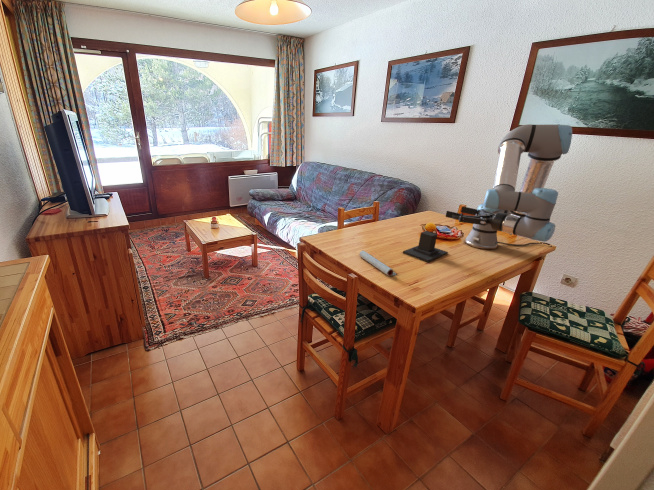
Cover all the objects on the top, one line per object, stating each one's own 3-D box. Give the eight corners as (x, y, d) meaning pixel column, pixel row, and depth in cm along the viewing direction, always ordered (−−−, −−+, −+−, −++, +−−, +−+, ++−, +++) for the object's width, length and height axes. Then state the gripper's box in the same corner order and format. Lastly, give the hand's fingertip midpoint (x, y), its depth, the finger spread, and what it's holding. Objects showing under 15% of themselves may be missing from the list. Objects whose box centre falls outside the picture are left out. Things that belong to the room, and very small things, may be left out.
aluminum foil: (358, 257, 157) (359, 250, 155) (370, 255, 159) (370, 249, 157) (386, 276, 137) (387, 269, 136) (399, 274, 139) (400, 267, 138)
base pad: (422, 245, 171) (423, 241, 170) (447, 254, 160) (448, 249, 159) (402, 253, 161) (403, 248, 160) (427, 262, 151) (428, 257, 150)
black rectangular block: (422, 248, 164) (426, 230, 160) (433, 252, 159) (437, 234, 155) (417, 250, 161) (420, 232, 157) (428, 254, 157) (431, 236, 153)
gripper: (489, 237, 123) (438, 223, 139) (515, 226, 136) (465, 214, 152) (494, 219, 120) (441, 207, 136) (520, 209, 133) (469, 199, 149)
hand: (454, 211), depth 144 cm, fingers open, 13 cm apart
